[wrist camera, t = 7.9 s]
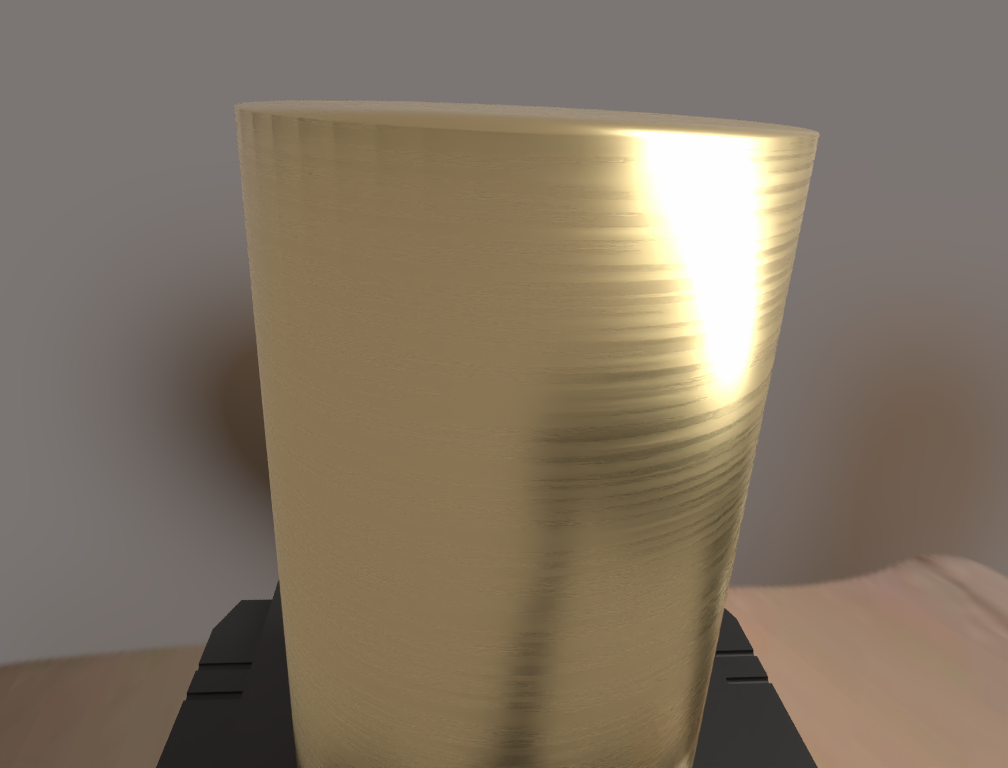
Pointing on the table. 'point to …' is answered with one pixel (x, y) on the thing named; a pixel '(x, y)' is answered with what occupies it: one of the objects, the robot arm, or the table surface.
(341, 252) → the brass axle
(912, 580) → the table surface
